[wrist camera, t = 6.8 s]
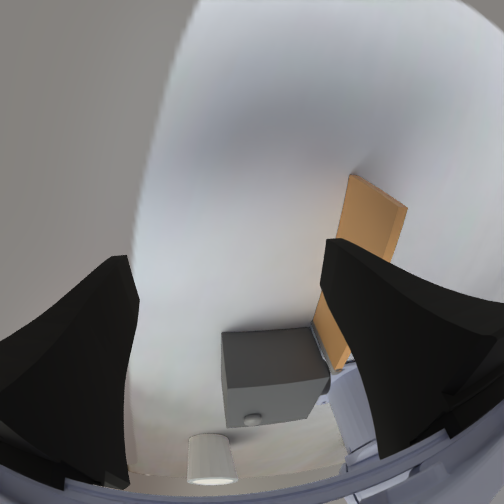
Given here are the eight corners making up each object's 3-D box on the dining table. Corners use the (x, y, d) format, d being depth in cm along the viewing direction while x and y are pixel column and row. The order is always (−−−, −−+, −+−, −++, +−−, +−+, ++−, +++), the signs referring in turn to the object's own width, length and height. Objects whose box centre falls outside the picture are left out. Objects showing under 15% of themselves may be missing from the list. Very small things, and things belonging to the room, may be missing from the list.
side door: (318, 325, 21) (340, 374, 17) (309, 326, 21) (330, 376, 17) (359, 175, 15) (409, 208, 11) (348, 174, 15) (397, 206, 11)
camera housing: (323, 325, 21) (347, 379, 17) (305, 373, 25) (320, 420, 20) (221, 332, 20) (228, 395, 15) (221, 381, 24) (227, 433, 19)
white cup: (188, 447, 33) (191, 486, 27) (180, 432, 30) (182, 478, 24) (232, 445, 34) (238, 484, 28) (232, 430, 31) (238, 476, 25)
